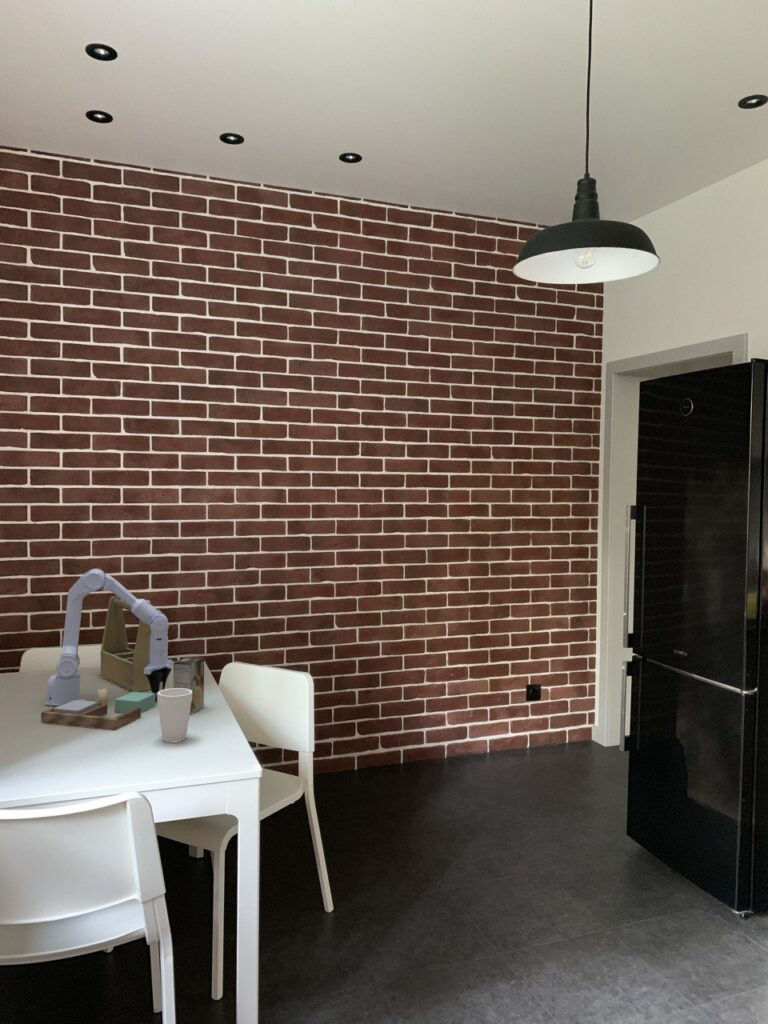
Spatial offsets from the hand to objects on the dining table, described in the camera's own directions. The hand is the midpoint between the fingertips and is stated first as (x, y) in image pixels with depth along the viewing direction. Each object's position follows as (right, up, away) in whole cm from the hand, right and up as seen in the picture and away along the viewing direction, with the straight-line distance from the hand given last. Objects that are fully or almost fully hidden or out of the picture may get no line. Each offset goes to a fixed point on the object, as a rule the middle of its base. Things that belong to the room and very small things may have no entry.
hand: (157, 691), depth 250 cm
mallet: (-2, -2, -8) cm, 9 cm away
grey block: (-16, -2, -19) cm, 25 cm away
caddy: (-16, -2, +21) cm, 27 cm away
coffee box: (+14, -3, -13) cm, 19 cm away
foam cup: (+17, -4, -42) cm, 45 cm away
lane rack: (-12, -2, -25) cm, 28 cm away
